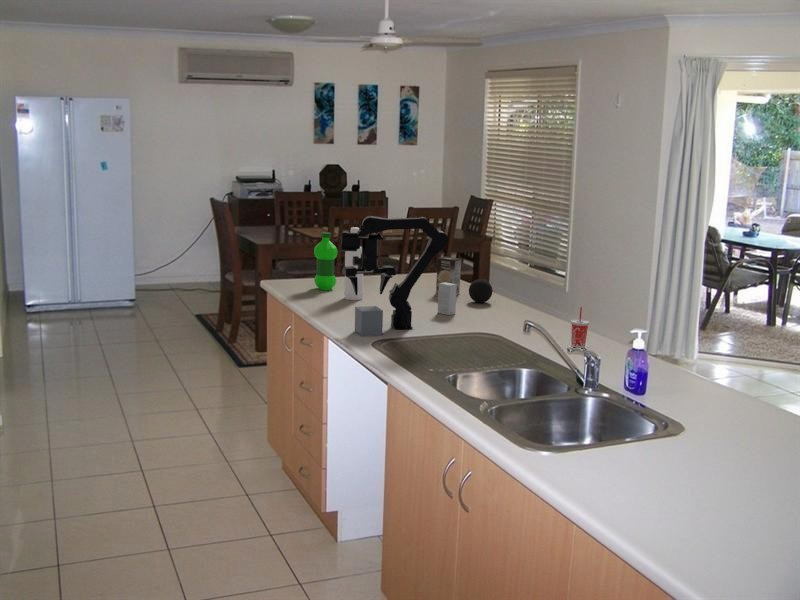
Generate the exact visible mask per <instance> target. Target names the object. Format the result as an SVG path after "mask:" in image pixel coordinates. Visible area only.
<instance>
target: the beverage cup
mask: <svg viewBox="0 0 800 600" xmlns="http://www.w3.org/2000/svg"><path fill="white" fill-rule="evenodd" d="M582 308H583V307H582V306H580V307H579V319H571V320H570V324H571V339H570V340H571V344H570V346H571V348H572V347H576V348H583V350H584V349H586V342H587V335H588V328H589V326H590V325H589V324H590V321H589V320H585V319H582V312H583V311H582V310H583V309H582ZM576 348H575V349H576Z"/></svg>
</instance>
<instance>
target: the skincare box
mask: <svg viewBox="0 0 800 600" xmlns="http://www.w3.org/2000/svg"><path fill="white" fill-rule="evenodd" d="M456 286H457V284H452V283H446V282H444V283H439V292H438V294H437V295H438V296H437V298H438V299H437V313H438V314H443V315H446V316H452V315H456V312H457V311H456V308H457V307H456V306H457V305H456V304H457V295H456Z"/></svg>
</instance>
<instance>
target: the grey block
mask: <svg viewBox="0 0 800 600" xmlns="http://www.w3.org/2000/svg"><path fill="white" fill-rule="evenodd" d="M354 308H355V309H354V332H355V333H356V334H358V335H359V336H360V337H368V336H369V337H371V336H373V337H375V336H383V327H384V326H383V323H384V319H383V318H384V317H383V316H384V310H383V309H381V308H380V307H379V306H377V305H368V306H367V305H366V306H354Z"/></svg>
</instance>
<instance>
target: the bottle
mask: <svg viewBox="0 0 800 600" xmlns="http://www.w3.org/2000/svg"><path fill="white" fill-rule="evenodd" d="M359 229H360V228H359V227H356V226H355V227H354V226H352V227H350V232H349V233H357V231H358V230H359ZM344 253H345V254H344V267H345V266H353V256H358V257H359V258H361V253H362V245H360V249H357V251H344ZM353 267H355V268H356V269H358V266H353ZM356 277H357V279H358V293H357V295H355V292H354V288H353V285H352V283H351V280H350V279H349V278H347V277H346V276H344V291H343V296H344V299H345V300H347V301H361V300H363V299H364V274H357V275H356Z"/></svg>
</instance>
